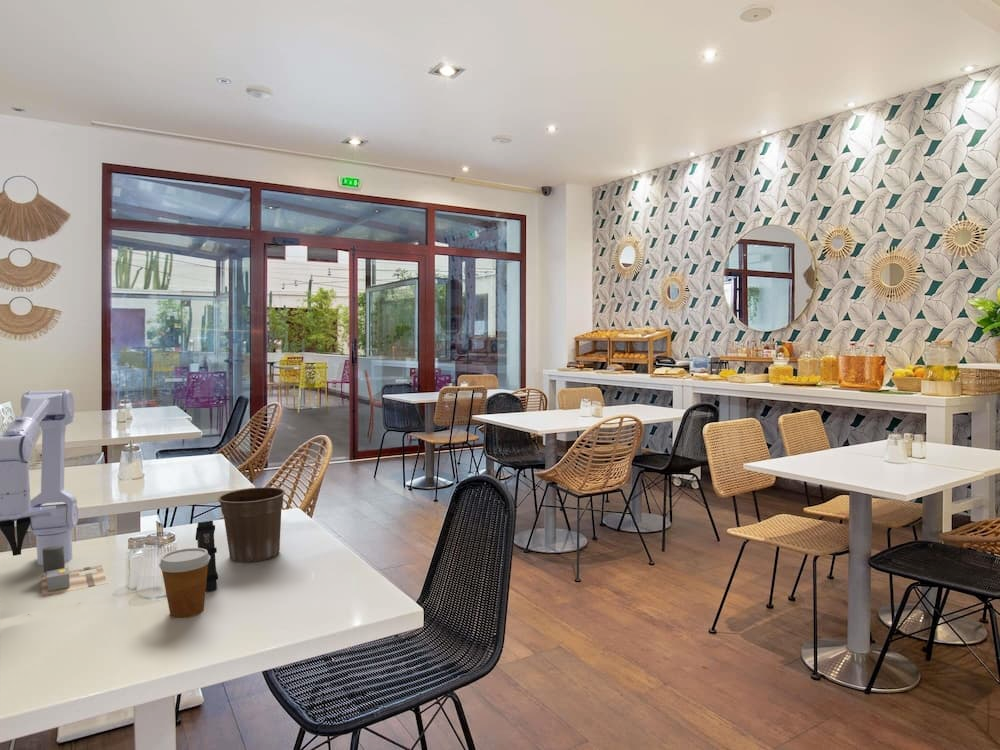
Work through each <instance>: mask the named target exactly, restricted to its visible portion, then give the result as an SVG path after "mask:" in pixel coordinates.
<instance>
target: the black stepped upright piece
mask: <svg viewBox="0 0 1000 750" xmlns="http://www.w3.org/2000/svg"><path fill="white" fill-rule="evenodd" d="M215 530H216V525H215V524H214V520H207V521H199V522H197V527H196V531H195V541H197V548H202V549H206V550H207V551H208V554H209V555H210V560H209V563H208V570H207V581H206V592H205V593H210V592H215V591H217V589H218V586H217V585H218V584H217V580H219V574H218V572H217V571H218V570H217V567H216V565H217V564H216V553H217V552H218V550H217V547H216V546H215Z"/></svg>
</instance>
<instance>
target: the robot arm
mask: <svg viewBox="0 0 1000 750" xmlns="http://www.w3.org/2000/svg"><path fill="white" fill-rule="evenodd" d="M20 409H21V412H22V414H21V415H20V417H19V416H18V417H16V418H14V419H13V420H12V421H11V422H10V423H9V425H8V426H7V427H6V429H5V430H4V432H3V434H2V435H1V436H0V531H1V533H2V534H3V535H4V537H5V538H6V540H7V542H8V544H9V546H10V549H11V552H12V556H13V557H15V556H20V555H22V549H23V548H22V547H23V544H24V540H25V537H26V535H27V532H28V530H29V531H30V533H31V532H32V535H34V536H35V537H36V538H35V540H36V541H35V542H36V558H37V561H36V562H37V565H39V566H43V549H44V548H47V547H51V546H64V563H67V562H69V561H71V560H73V545H72V544H73V543H72V542H73V541H72V529H74V528H75V527H76V526H77V524H78V520H79V508H78V500H77V498H76V496H74V495H73V494H71V493H69V492H68V491H66V490H65V458H66V457H65V451H66V449H65V448H66V447H65V445H66V442H65V441H66V431H67V430H66V428H67V425H70V424H72V423H74V417H75V400H74V396H73V393H72V392H71V391H70V390H69V389H64V390H62V389H61V390H59V389H58V390H35V391H33V390H32V391H30V390H26V391H24V392H23V394H22V395H21V398H20ZM40 431H42V433H41V435H42V437H41V470H40V472H41V474H40V475H41V476H40V480H41V481H40V493H39V494H37V495H36V496H35V497H33V498H32V499H31V490H30V489H31V488H30V487H31V485H30V469H29V462H30V461H31V460H32V458H33V457H32V456H33V451H34V448H35V446H34V445H35V444H34V442H35V441H36V439H37V437H38V435H39V433H40ZM52 503H54V504H52ZM55 503H59V504H55ZM46 504H47V505H46ZM15 522H16V523H15ZM15 528H16V529H15ZM16 539H17V540H16Z"/></svg>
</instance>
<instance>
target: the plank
mask: <svg viewBox="0 0 1000 750" xmlns="http://www.w3.org/2000/svg"><path fill="white" fill-rule="evenodd" d="M93 569H96V572H90V573H89V572H88V573H85V574H81V575H80V572H83V571H88V570H93ZM68 571H69V582H70V587H67V588H62V589H57V590H52V591H48V588H47V574H46V575H41V577H40V579H41V593H42V594H41V596H42V597H46V596H52V595H58V594H62V593H67V592H71V591H76V590H81V589H87V588H91V587H97V586H102V585H106V584H108V580H107V577H106V575H105V572H104V568H103V565H101V564H100V565H94V566H87V567H84V568H78V569H74V570H73V569H72V570H68Z"/></svg>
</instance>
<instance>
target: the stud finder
mask: <svg viewBox="0 0 1000 750" xmlns="http://www.w3.org/2000/svg"><path fill="white" fill-rule="evenodd" d="M69 571H70V570H69V567H65V568H62V569H57V570H51V571H47V573H46V575H47V588H48V591H52V590H57V589H62V588H67V587H70V582H69Z"/></svg>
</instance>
